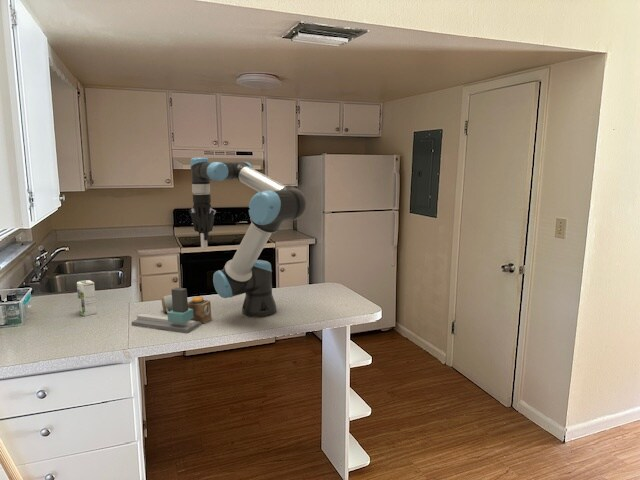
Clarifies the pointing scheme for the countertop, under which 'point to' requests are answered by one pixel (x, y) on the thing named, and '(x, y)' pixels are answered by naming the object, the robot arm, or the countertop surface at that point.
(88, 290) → the syrup box
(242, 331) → the countertop surface
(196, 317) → the gauge cabinet
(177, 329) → the rail
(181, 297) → the carriage
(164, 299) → the ceramic mug
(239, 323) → the countertop surface
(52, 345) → the countertop surface
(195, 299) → the button
